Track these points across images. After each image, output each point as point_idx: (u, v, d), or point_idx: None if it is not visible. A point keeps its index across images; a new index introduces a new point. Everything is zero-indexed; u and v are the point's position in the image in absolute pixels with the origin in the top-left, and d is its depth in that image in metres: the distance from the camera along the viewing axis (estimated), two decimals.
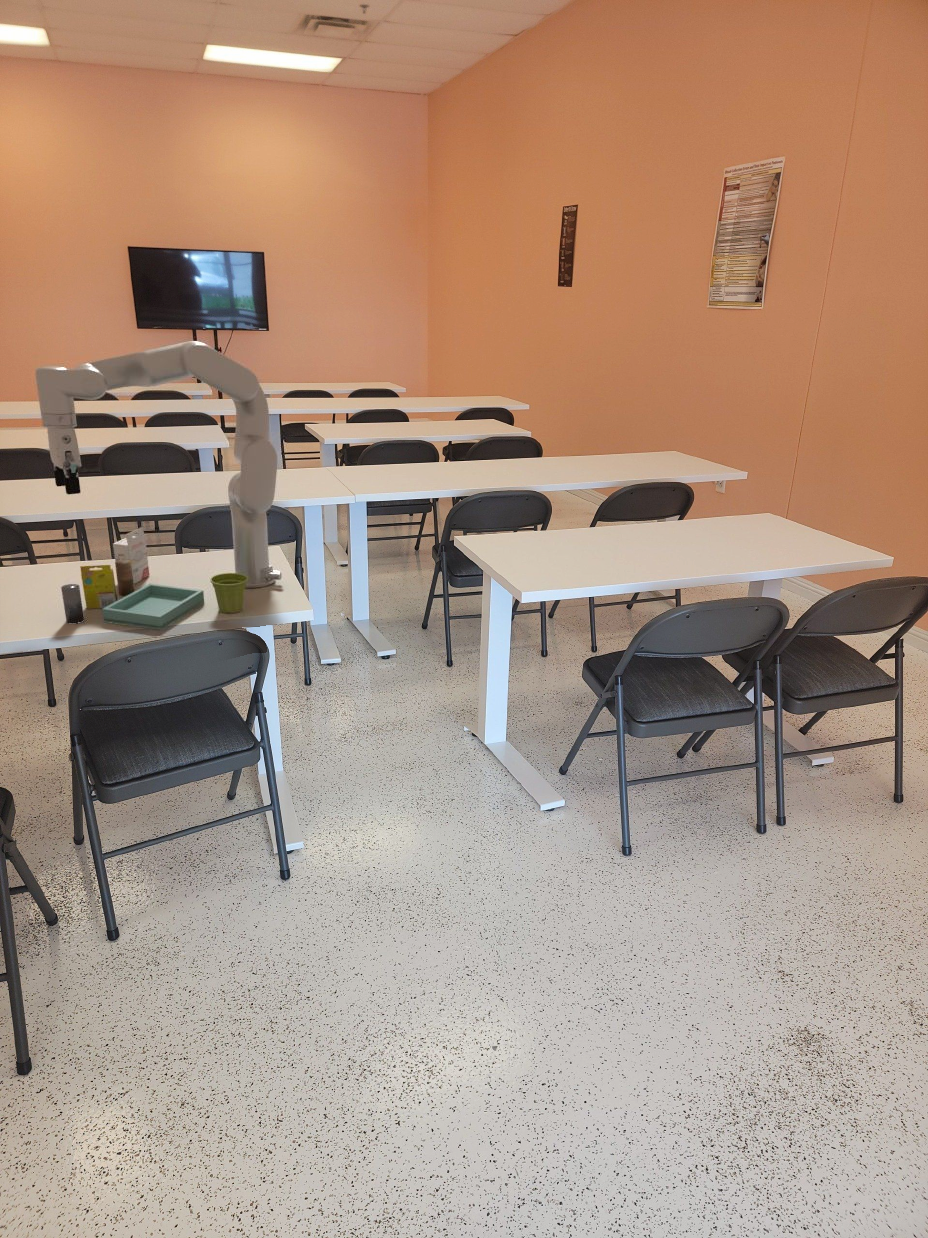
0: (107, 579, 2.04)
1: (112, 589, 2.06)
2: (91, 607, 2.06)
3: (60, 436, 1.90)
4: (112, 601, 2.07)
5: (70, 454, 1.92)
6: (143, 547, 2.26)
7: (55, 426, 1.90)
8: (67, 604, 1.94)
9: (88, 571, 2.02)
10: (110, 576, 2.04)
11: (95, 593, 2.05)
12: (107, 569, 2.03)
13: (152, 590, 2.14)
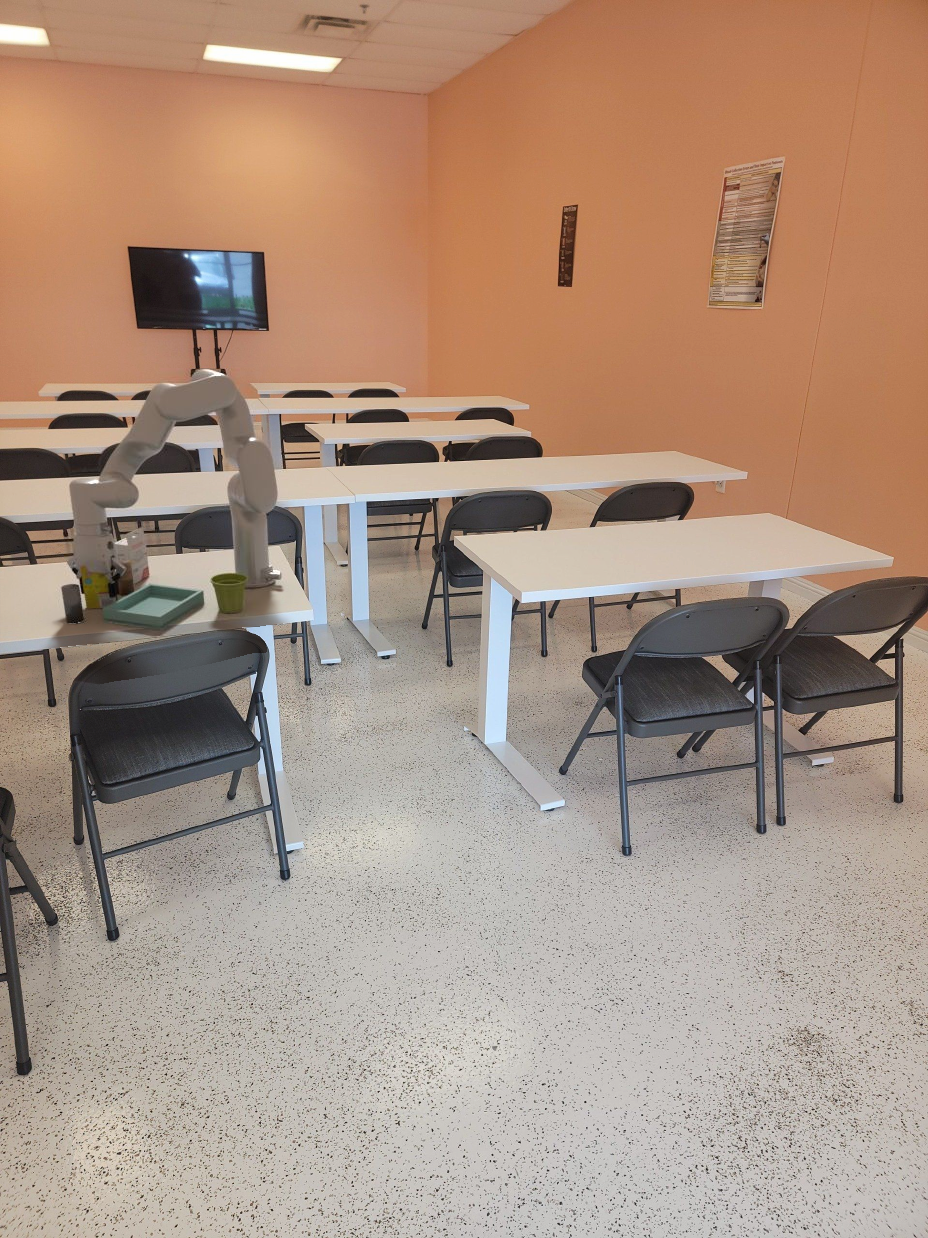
0: (107, 579, 2.04)
1: None
2: (91, 607, 2.06)
3: (106, 543, 1.99)
4: (112, 601, 2.07)
5: (116, 560, 2.02)
6: (143, 547, 2.26)
7: (99, 535, 1.98)
8: (67, 604, 1.94)
9: (88, 571, 2.02)
10: None
11: (96, 593, 2.05)
12: None
13: (152, 590, 2.14)
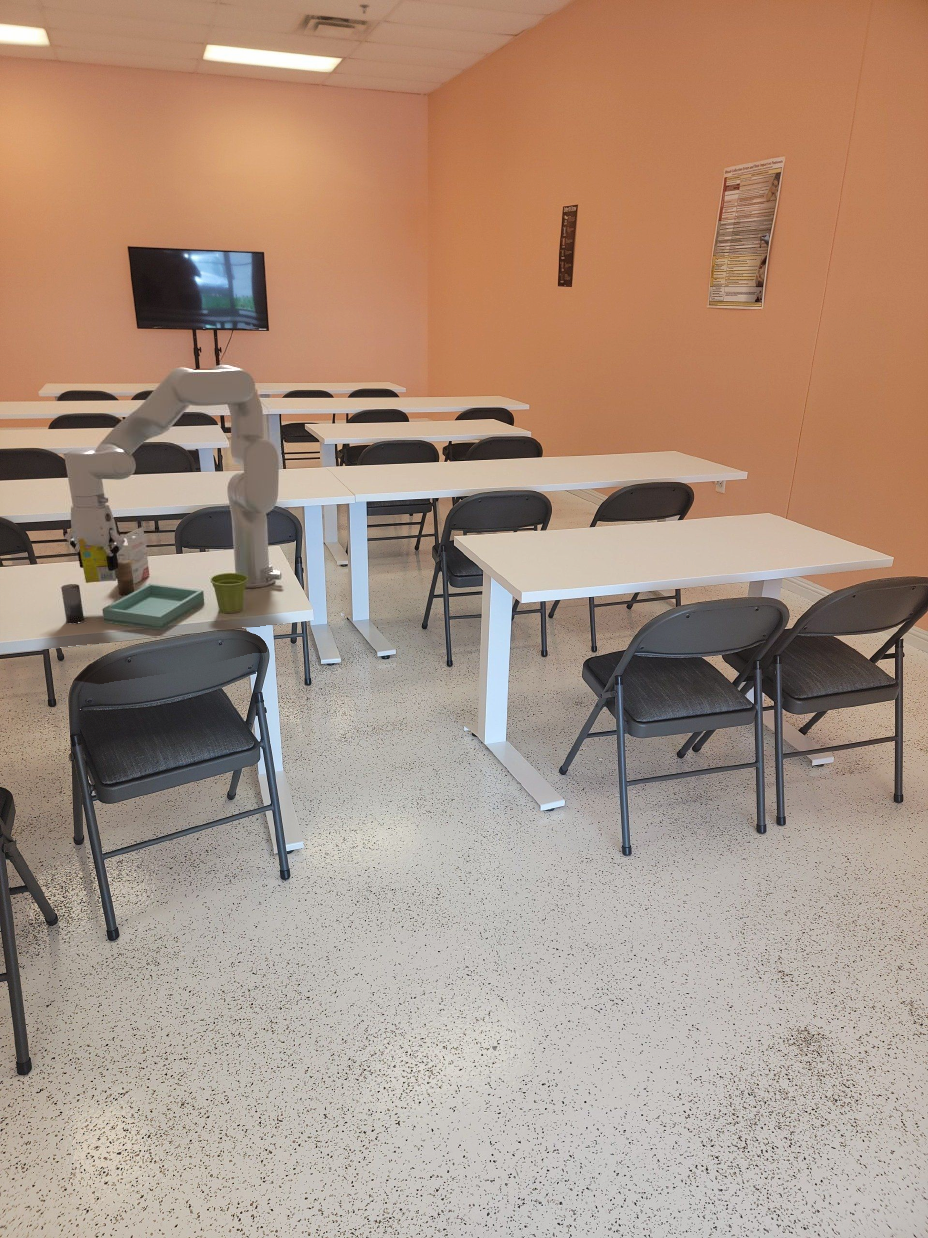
0: (106, 552, 2.02)
1: None
2: (90, 581, 2.03)
3: (103, 515, 1.97)
4: (111, 574, 2.04)
5: (114, 532, 1.99)
6: (143, 547, 2.26)
7: (96, 507, 1.96)
8: (67, 604, 1.94)
9: (86, 544, 2.00)
10: None
11: (94, 566, 2.02)
12: None
13: (152, 590, 2.14)
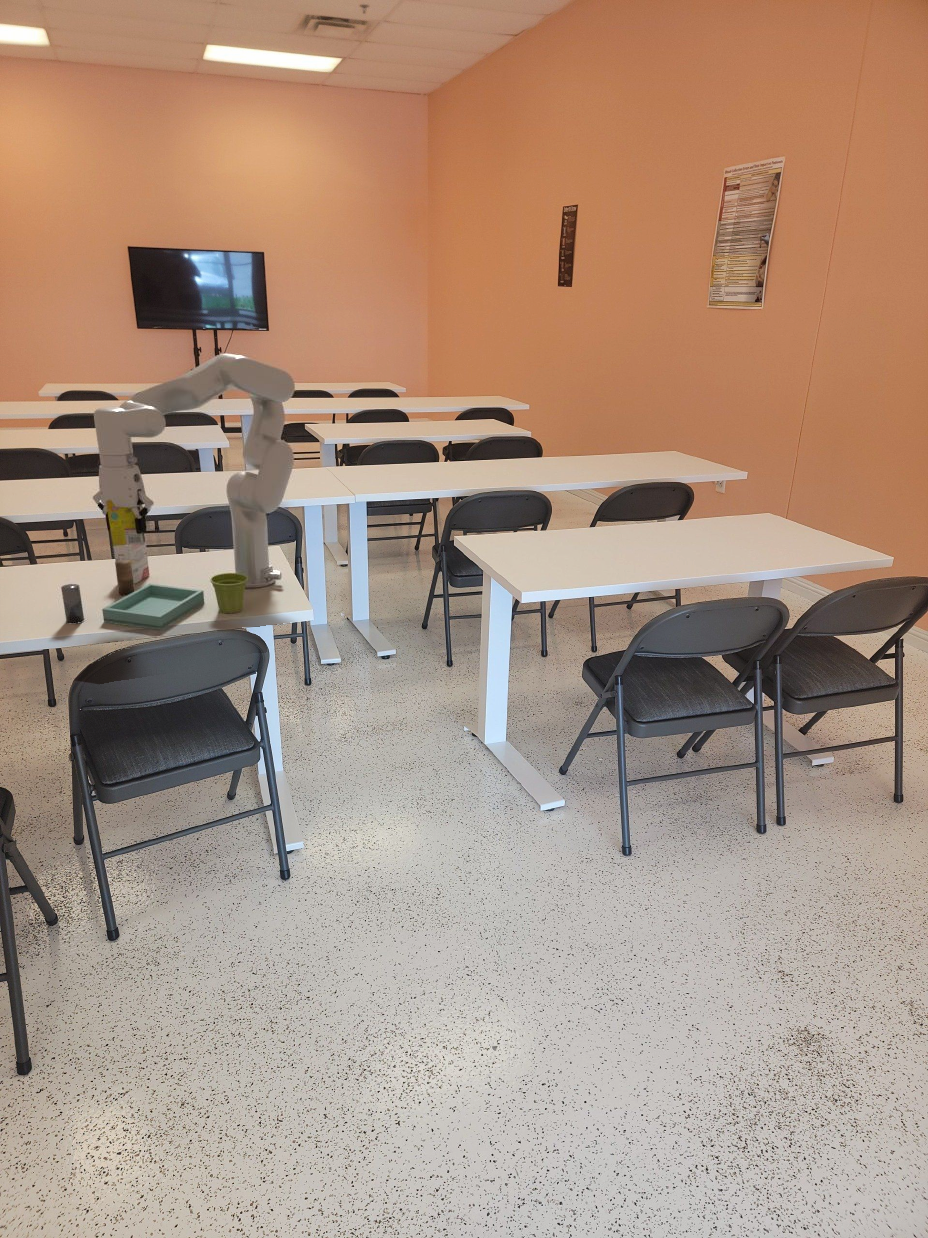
0: (133, 514, 1.96)
1: None
2: (118, 544, 1.98)
3: (132, 476, 1.91)
4: (139, 538, 1.99)
5: (142, 493, 1.94)
6: (143, 547, 2.26)
7: (125, 467, 1.90)
8: (67, 604, 1.94)
9: (114, 505, 1.95)
10: None
11: (122, 529, 1.97)
12: None
13: (152, 590, 2.14)
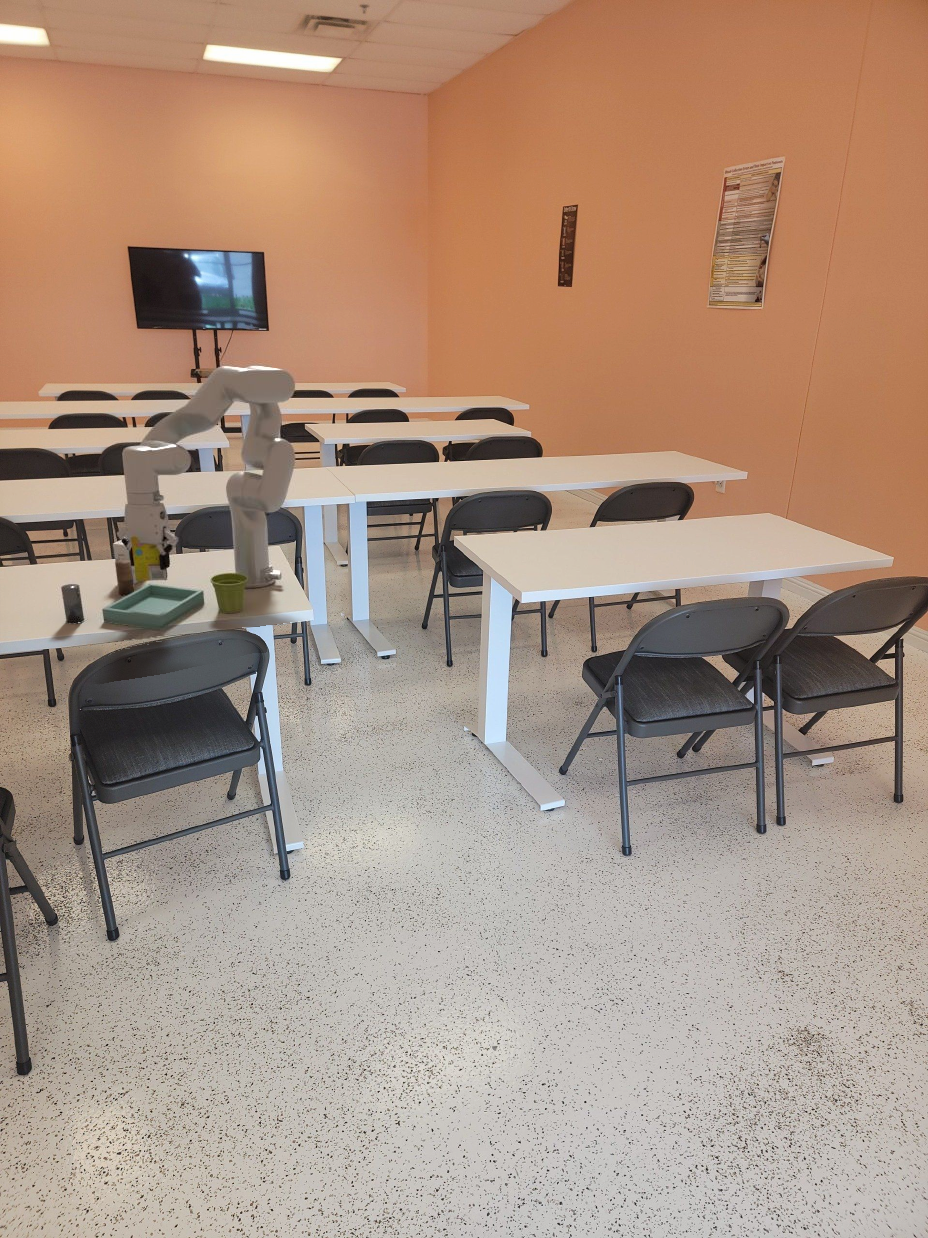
0: (158, 551, 1.99)
1: None
2: (141, 579, 2.00)
3: (158, 513, 1.94)
4: (162, 573, 2.01)
5: (167, 530, 1.96)
6: None
7: (152, 504, 1.93)
8: (67, 604, 1.94)
9: (139, 542, 1.97)
10: None
11: (146, 564, 1.99)
12: None
13: (152, 590, 2.14)
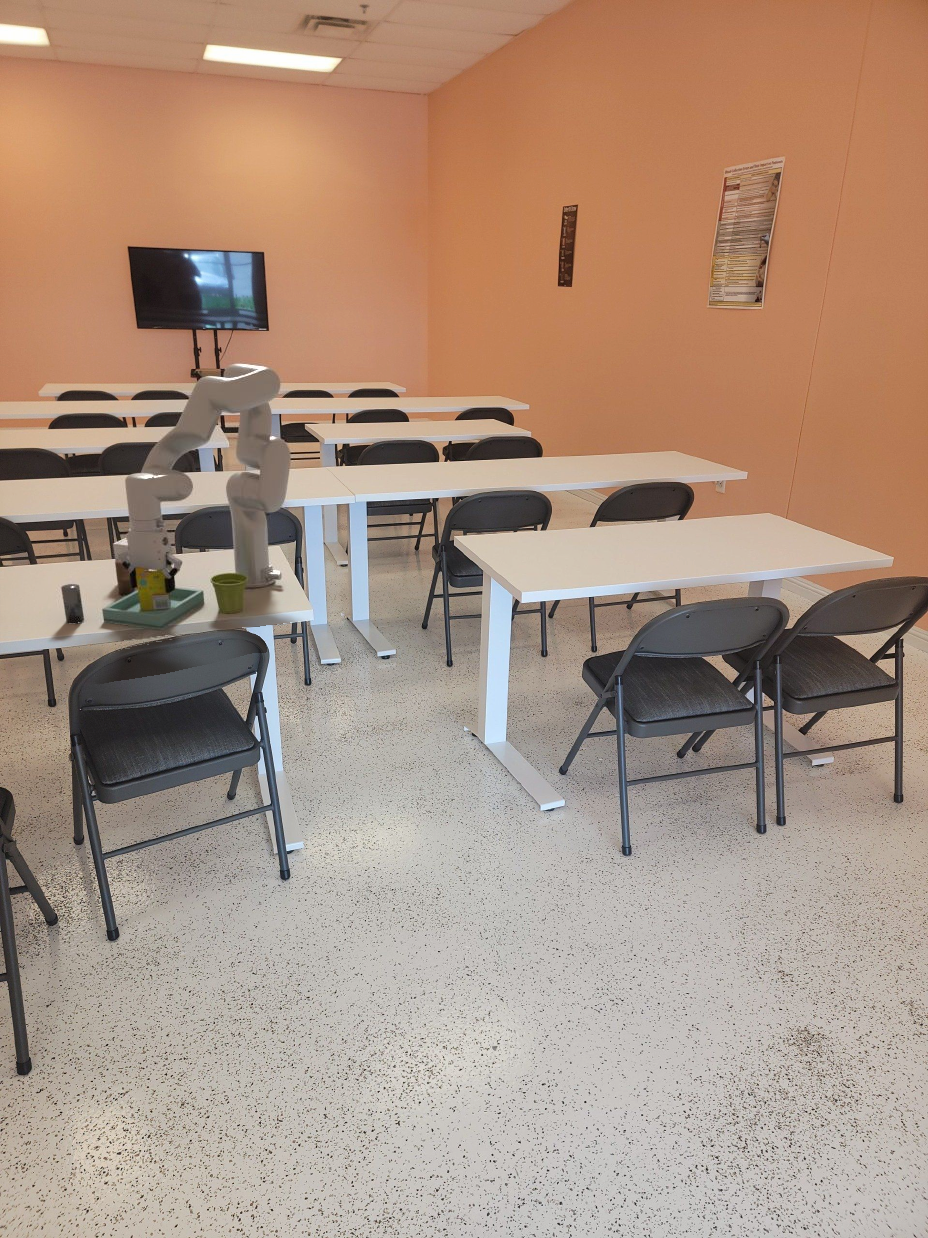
0: (161, 580, 2.02)
1: None
2: (145, 609, 2.03)
3: (161, 539, 1.96)
4: (166, 602, 2.05)
5: (170, 554, 1.99)
6: None
7: (154, 531, 1.95)
8: (67, 604, 1.94)
9: (143, 572, 2.00)
10: (165, 577, 2.02)
11: (150, 594, 2.03)
12: None
13: None
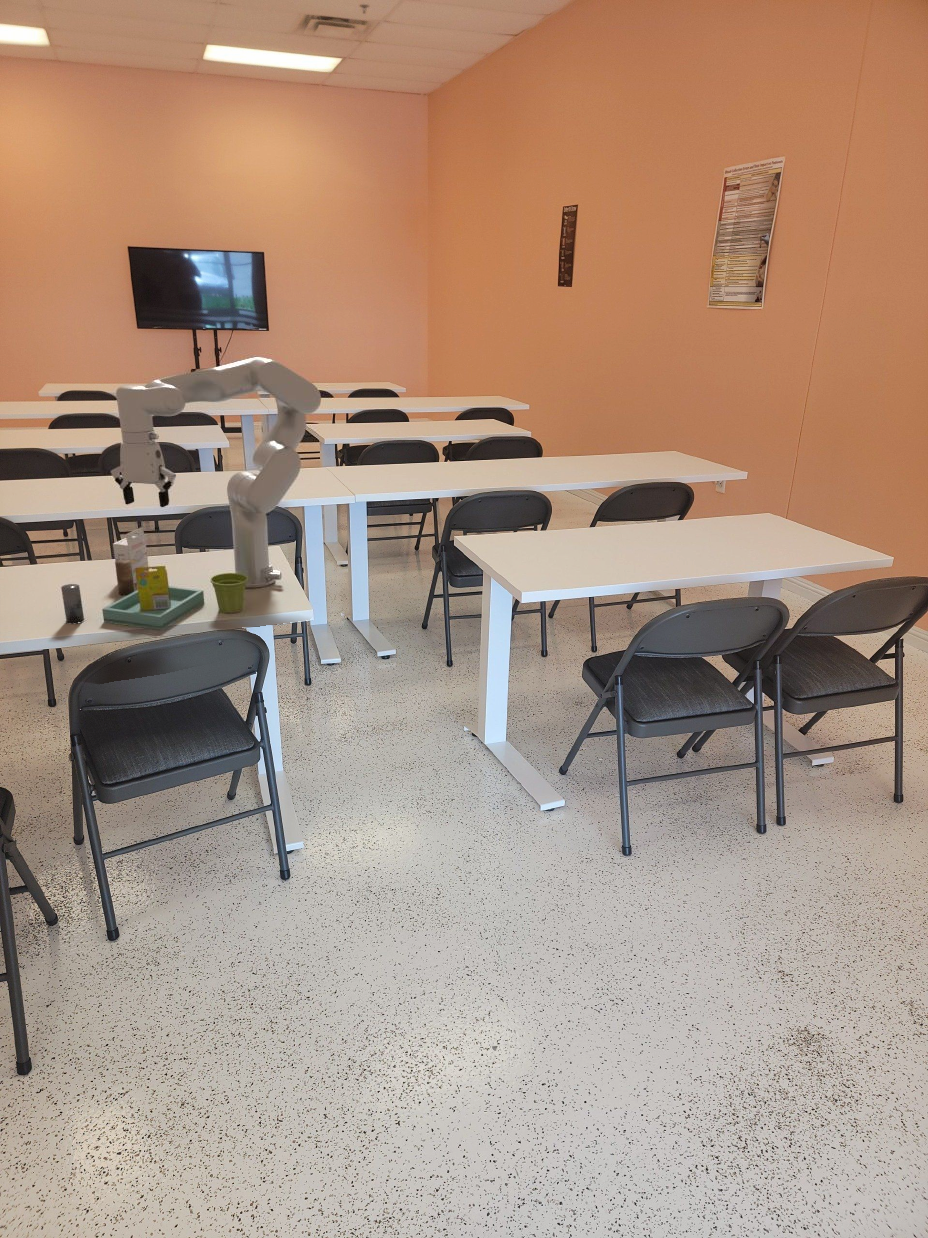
0: (161, 581, 2.02)
1: (166, 590, 2.03)
2: (145, 609, 2.03)
3: (154, 452, 1.97)
4: (166, 602, 2.05)
5: (164, 468, 2.00)
6: (143, 547, 2.26)
7: (147, 443, 1.96)
8: (67, 604, 1.94)
9: (143, 572, 2.00)
10: (165, 577, 2.02)
11: (150, 594, 2.03)
12: (162, 570, 2.01)
13: None
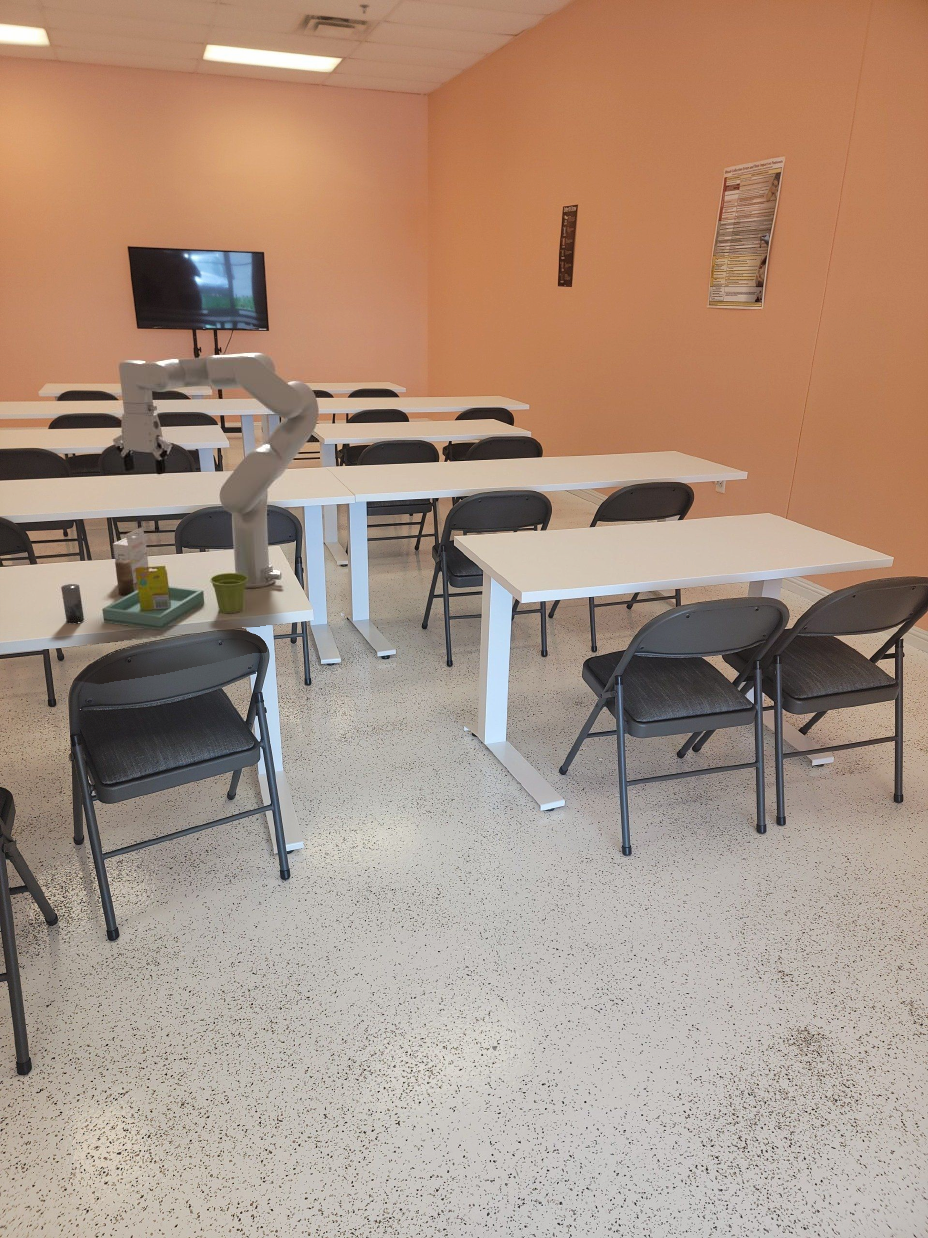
0: (161, 581, 2.02)
1: (166, 590, 2.03)
2: (145, 609, 2.03)
3: (152, 422, 2.13)
4: (166, 602, 2.05)
5: (161, 437, 2.16)
6: (143, 547, 2.26)
7: (146, 414, 2.12)
8: (67, 604, 1.94)
9: (143, 572, 2.00)
10: (165, 577, 2.02)
11: (150, 594, 2.03)
12: (162, 570, 2.01)
13: None
